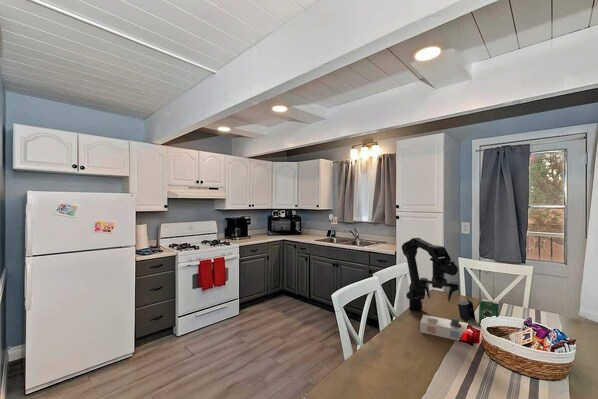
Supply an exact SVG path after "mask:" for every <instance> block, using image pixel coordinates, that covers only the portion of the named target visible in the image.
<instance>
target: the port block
mask: <svg viewBox="0 0 598 399" xmlns="http://www.w3.org/2000/svg"><path fill="white" fill-rule="evenodd" d="M459 325H461V327H460V328H459V327H454V326H452V321H451V319H447V318H443V317H439V316H438V317H436V316H431V315H427V314H422V317H421V320H420V323H419V326H420V327H419V328H420V333H422V334H427V335H432V336H435V337H441V338H446V339H450V340H454V341H459V340H460V337H461V335H462V334H463V333H464V332H467V331H464V329H467V326H468V325H469V324H468V322H462V321H459ZM468 327H469V326H468ZM459 342H460V341H459Z"/></svg>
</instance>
